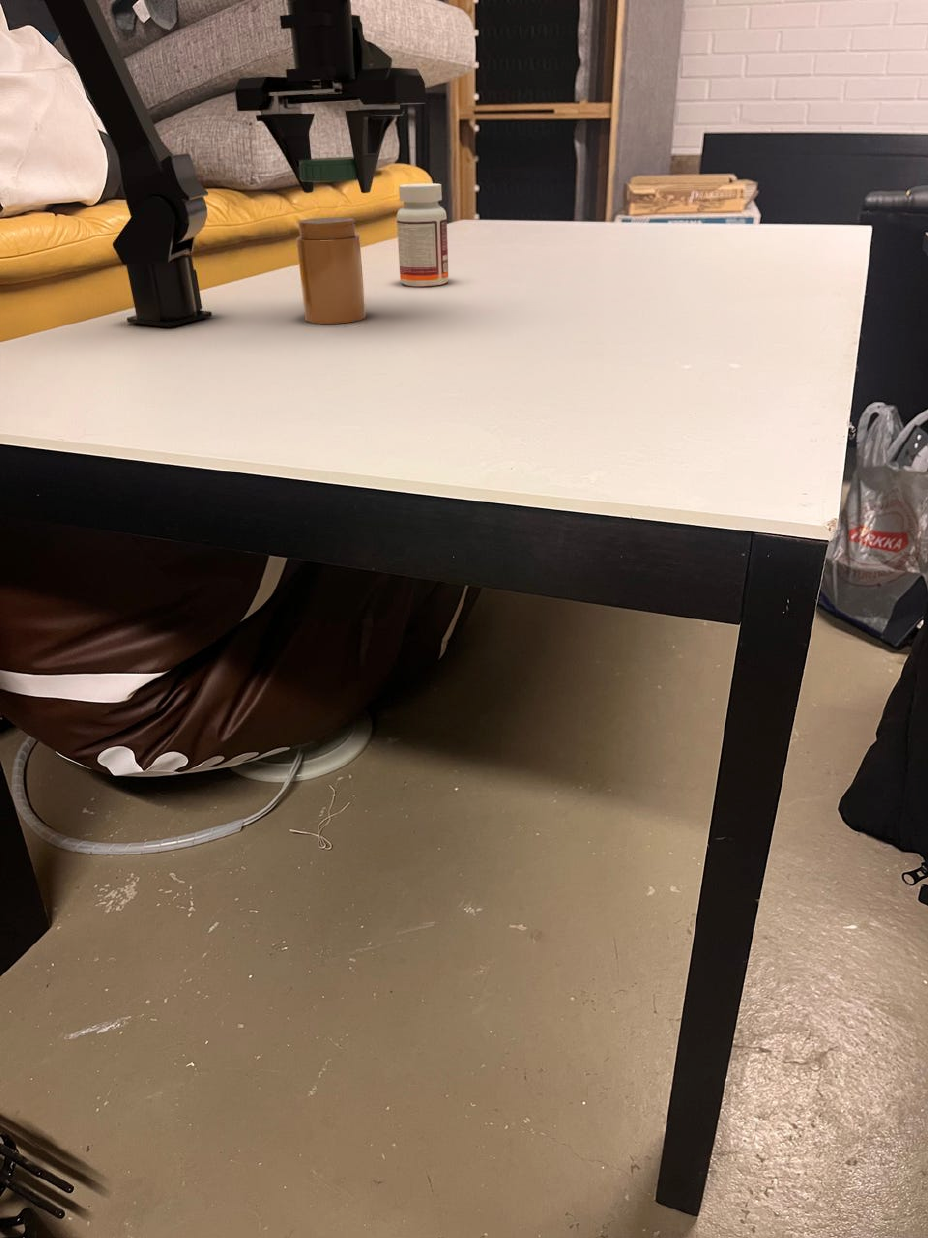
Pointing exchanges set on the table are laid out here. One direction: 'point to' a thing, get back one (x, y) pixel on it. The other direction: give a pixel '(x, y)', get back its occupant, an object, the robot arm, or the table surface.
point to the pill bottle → (422, 235)
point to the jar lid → (327, 169)
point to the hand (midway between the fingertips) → (337, 192)
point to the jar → (331, 271)
